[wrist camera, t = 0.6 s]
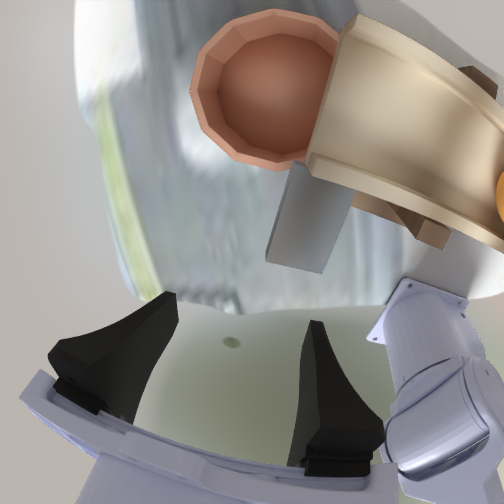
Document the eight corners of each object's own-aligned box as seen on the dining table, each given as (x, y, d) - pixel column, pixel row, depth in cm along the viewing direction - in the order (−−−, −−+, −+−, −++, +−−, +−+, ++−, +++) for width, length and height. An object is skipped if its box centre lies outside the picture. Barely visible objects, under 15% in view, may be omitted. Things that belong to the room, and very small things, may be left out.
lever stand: (477, 97, 13) (535, 101, 6) (429, 233, 19) (468, 283, 13) (382, 43, 13) (419, 12, 7) (336, 197, 20) (350, 239, 13)
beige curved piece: (506, 145, 12) (556, 168, 7) (448, 278, 18) (480, 324, 13) (320, 36, 11) (349, 4, 6) (265, 230, 17) (265, 286, 12)
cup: (366, 54, 14) (381, 39, 10) (330, 174, 19) (336, 190, 15) (232, 22, 15) (213, 2, 11) (203, 139, 20) (178, 147, 16)
